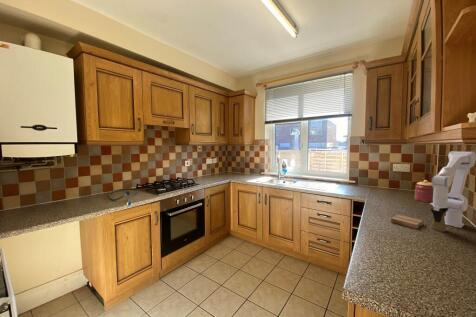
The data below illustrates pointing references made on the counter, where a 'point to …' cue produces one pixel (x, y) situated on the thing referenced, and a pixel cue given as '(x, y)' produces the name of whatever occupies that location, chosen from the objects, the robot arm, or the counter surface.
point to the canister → (424, 191)
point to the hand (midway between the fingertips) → (438, 220)
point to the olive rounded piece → (439, 224)
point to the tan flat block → (407, 221)
